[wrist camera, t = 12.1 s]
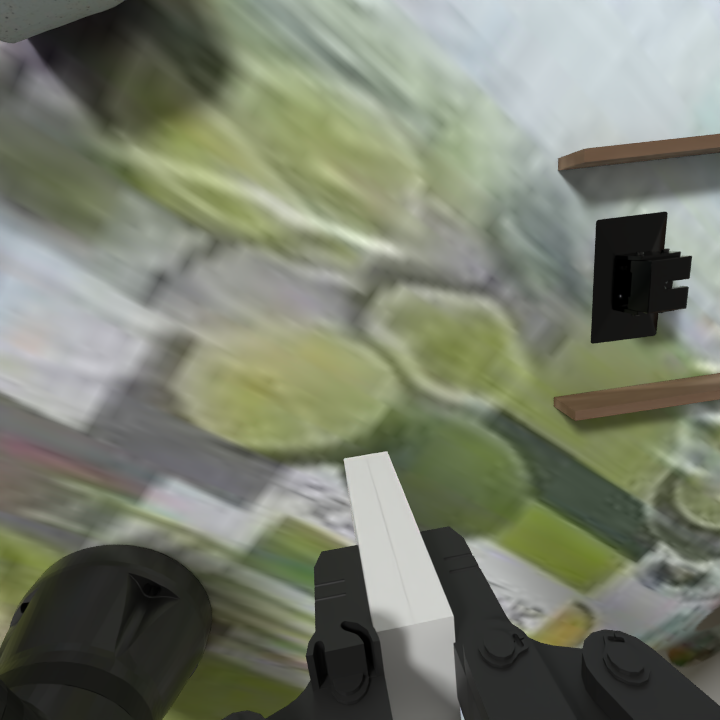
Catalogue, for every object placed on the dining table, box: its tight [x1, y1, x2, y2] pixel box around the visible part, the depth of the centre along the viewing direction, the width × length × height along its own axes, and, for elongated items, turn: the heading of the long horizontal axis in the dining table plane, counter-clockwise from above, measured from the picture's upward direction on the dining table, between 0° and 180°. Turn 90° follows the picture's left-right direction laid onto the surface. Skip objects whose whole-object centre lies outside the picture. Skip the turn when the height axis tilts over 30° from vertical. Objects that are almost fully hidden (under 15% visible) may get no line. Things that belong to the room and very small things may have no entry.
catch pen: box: [554, 134, 720, 421], centre depth 31 cm, size 19×19×3 cm
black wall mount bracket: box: [591, 212, 692, 343], centre depth 30 cm, size 12×7×5 cm, turn 6°
